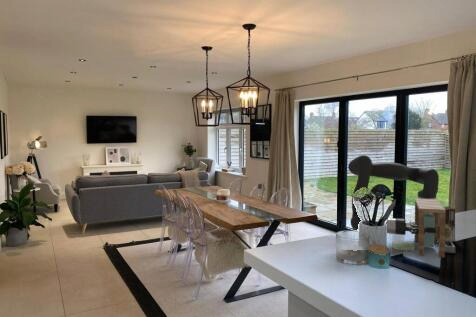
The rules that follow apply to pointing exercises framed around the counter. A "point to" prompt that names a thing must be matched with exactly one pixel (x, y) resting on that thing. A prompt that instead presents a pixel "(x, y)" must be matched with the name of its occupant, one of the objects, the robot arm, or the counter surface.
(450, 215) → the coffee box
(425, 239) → the teal block
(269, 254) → the counter surface
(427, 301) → the counter surface
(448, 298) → the counter surface
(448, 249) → the pit box
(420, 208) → the small wooden table
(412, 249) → the mat
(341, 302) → the counter surface
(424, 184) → the robot arm
